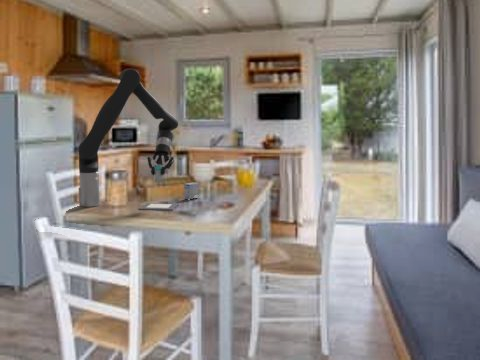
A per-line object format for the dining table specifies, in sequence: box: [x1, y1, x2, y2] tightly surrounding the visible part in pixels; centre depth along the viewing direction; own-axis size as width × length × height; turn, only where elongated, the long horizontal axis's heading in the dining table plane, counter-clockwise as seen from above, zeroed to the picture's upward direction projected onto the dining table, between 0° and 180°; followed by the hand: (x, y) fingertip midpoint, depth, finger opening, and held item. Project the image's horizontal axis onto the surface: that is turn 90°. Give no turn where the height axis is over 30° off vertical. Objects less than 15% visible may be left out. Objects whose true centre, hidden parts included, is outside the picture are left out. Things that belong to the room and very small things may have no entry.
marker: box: [154, 164, 164, 183], centre depth 229 cm, size 4×4×8 cm
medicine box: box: [183, 182, 200, 200], centre depth 254 cm, size 8×4×9 cm, turn 144°
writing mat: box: [138, 202, 179, 211], centre depth 231 cm, size 17×13×1 cm
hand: (157, 174), depth 227 cm, fingers closed on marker, 4 cm apart
